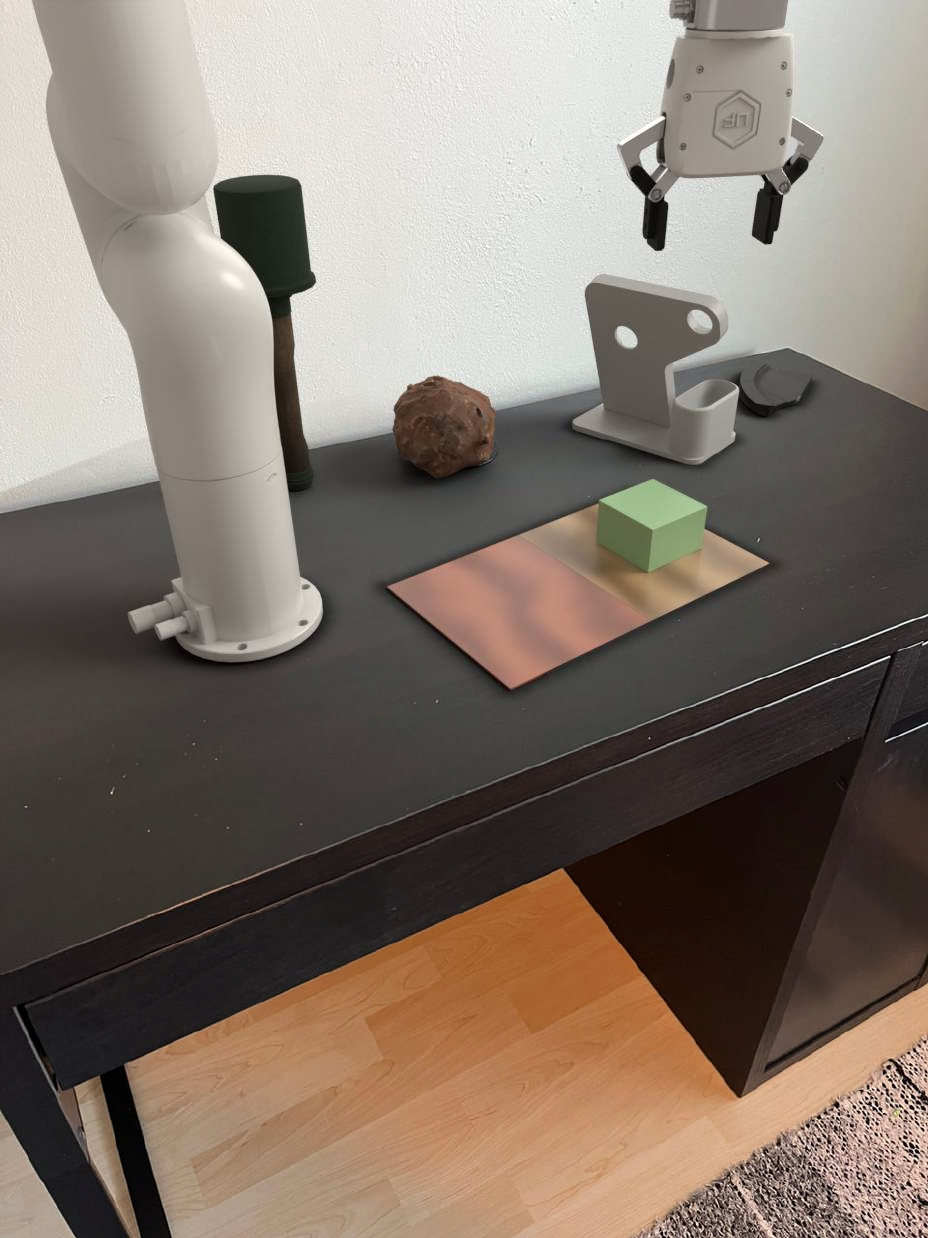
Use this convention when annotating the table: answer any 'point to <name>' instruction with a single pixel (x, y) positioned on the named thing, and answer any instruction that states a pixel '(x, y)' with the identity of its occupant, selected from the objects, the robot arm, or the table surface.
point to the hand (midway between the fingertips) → (708, 243)
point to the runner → (558, 595)
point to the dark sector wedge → (771, 388)
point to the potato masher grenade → (274, 286)
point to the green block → (650, 524)
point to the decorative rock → (443, 426)
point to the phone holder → (656, 371)
